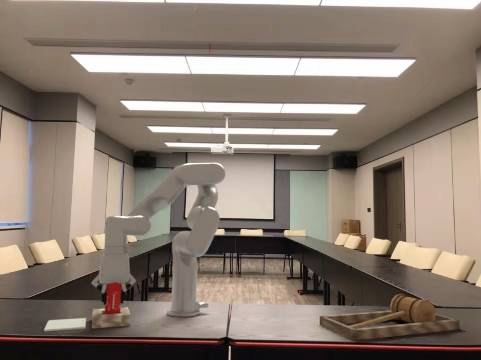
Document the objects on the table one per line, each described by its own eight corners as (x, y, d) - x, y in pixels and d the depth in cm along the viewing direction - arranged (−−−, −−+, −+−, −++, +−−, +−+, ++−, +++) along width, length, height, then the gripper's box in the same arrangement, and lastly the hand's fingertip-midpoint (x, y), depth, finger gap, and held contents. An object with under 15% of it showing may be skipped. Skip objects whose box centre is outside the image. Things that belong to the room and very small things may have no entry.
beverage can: (115, 318, 127) (117, 282, 129) (101, 317, 128) (103, 281, 130) (122, 315, 132) (125, 280, 134) (109, 314, 133) (111, 279, 135)
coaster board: (86, 319, 132) (86, 318, 132) (85, 328, 121) (85, 326, 121) (48, 322, 128) (48, 320, 128) (43, 331, 117) (44, 329, 117)
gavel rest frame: (416, 316, 149) (416, 308, 149) (459, 329, 131) (459, 320, 131) (319, 324, 133) (319, 316, 133) (354, 340, 115) (354, 330, 115)
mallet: (331, 340, 129) (328, 311, 130) (410, 317, 144) (407, 291, 145) (355, 352, 118) (351, 320, 119) (438, 325, 133) (434, 297, 134)
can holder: (127, 317, 137) (127, 307, 138) (130, 325, 126) (130, 314, 127) (92, 319, 133) (92, 309, 133) (91, 328, 122) (92, 317, 122)
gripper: (139, 249, 139) (137, 299, 137) (89, 250, 133) (87, 303, 131) (141, 251, 132) (139, 304, 130) (89, 252, 126) (86, 307, 124)
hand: (113, 303), depth 131 cm, fingers closed on beverage can, 5 cm apart
